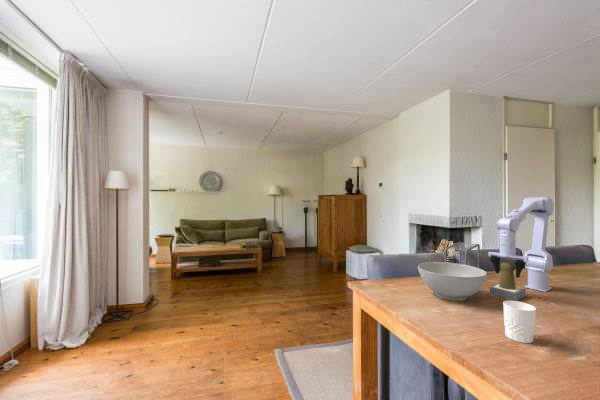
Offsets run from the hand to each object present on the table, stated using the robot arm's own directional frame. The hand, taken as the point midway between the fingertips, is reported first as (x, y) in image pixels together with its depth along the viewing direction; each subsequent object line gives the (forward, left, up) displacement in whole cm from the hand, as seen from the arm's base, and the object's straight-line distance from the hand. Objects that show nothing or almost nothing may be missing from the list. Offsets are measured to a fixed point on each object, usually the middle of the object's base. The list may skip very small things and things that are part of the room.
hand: (507, 275), depth 121 cm
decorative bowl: (+23, -13, -9) cm, 28 cm away
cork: (0, 0, -6) cm, 6 cm away
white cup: (+42, +18, -9) cm, 47 cm away
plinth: (0, 0, -9) cm, 9 cm away
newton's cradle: (-12, -25, -9) cm, 29 cm away
